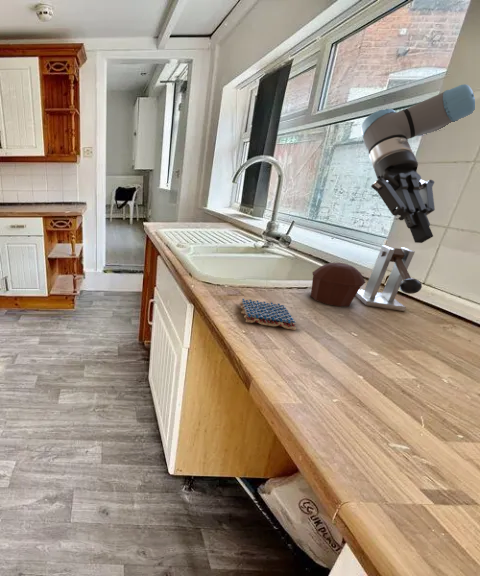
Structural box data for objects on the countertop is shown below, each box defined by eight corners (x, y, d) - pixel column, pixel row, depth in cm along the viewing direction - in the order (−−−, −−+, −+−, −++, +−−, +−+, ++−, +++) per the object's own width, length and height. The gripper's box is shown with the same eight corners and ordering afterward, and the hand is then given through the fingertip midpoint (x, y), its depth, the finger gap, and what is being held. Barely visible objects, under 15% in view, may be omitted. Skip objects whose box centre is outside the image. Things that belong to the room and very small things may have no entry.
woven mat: (244, 323, 68) (246, 315, 67) (238, 304, 77) (239, 297, 77) (296, 331, 65) (299, 323, 65) (283, 311, 75) (286, 303, 74)
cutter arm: (418, 298, 70) (428, 286, 68) (398, 295, 71) (407, 284, 69) (398, 258, 80) (406, 247, 78) (381, 256, 81) (388, 245, 79)
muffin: (302, 289, 90) (313, 256, 86) (348, 296, 86) (361, 262, 82) (309, 303, 80) (321, 267, 76) (362, 312, 76) (377, 274, 72)
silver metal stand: (404, 311, 78) (429, 255, 72) (365, 305, 80) (387, 250, 75) (385, 297, 86) (407, 246, 81) (351, 292, 89) (370, 242, 84)
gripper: (377, 148, 75) (408, 228, 66) (434, 150, 74) (473, 231, 65) (355, 171, 82) (379, 246, 73) (407, 173, 81) (438, 249, 72)
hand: (424, 239), depth 69 cm, fingers closed
